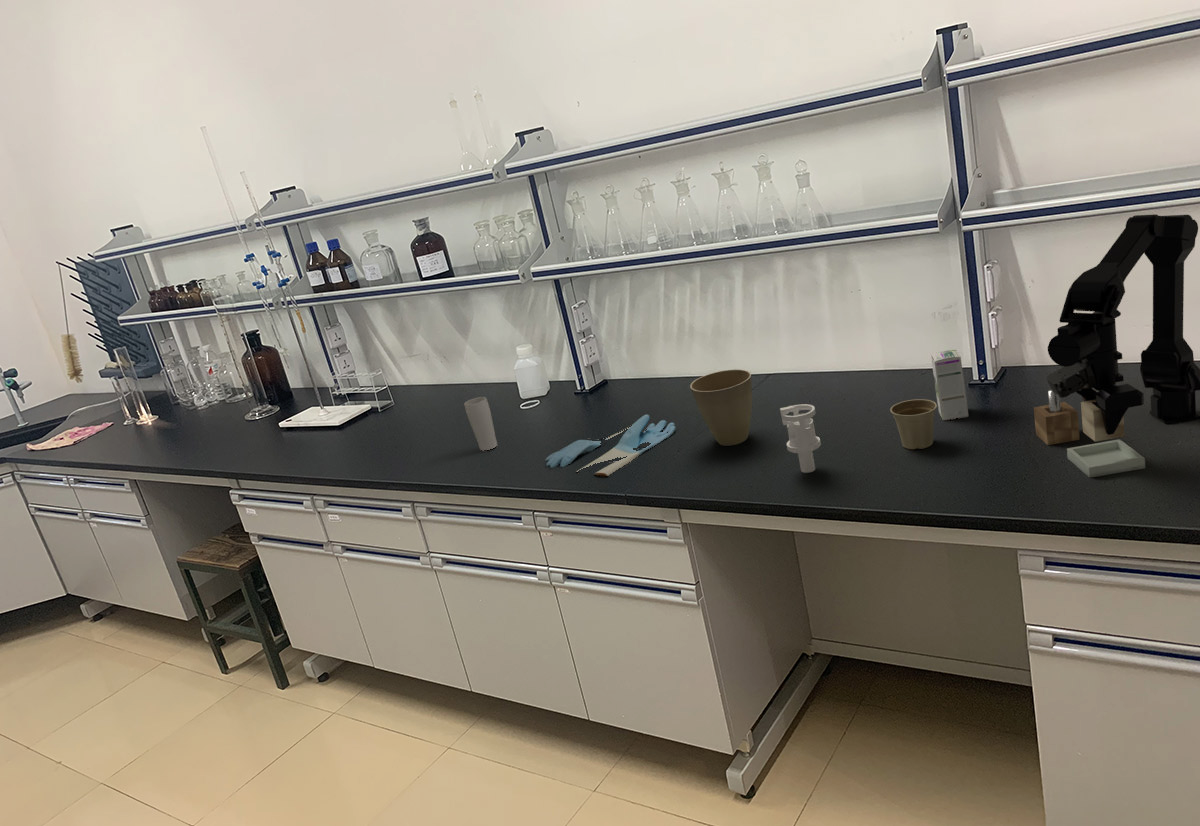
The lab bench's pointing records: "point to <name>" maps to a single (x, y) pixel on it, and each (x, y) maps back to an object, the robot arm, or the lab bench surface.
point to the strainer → (801, 434)
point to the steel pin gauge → (1054, 402)
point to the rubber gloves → (622, 449)
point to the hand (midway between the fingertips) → (1103, 429)
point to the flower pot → (915, 422)
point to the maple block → (1097, 423)
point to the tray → (1105, 458)
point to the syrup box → (949, 385)
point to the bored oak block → (1056, 424)
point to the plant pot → (725, 404)
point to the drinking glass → (481, 422)
